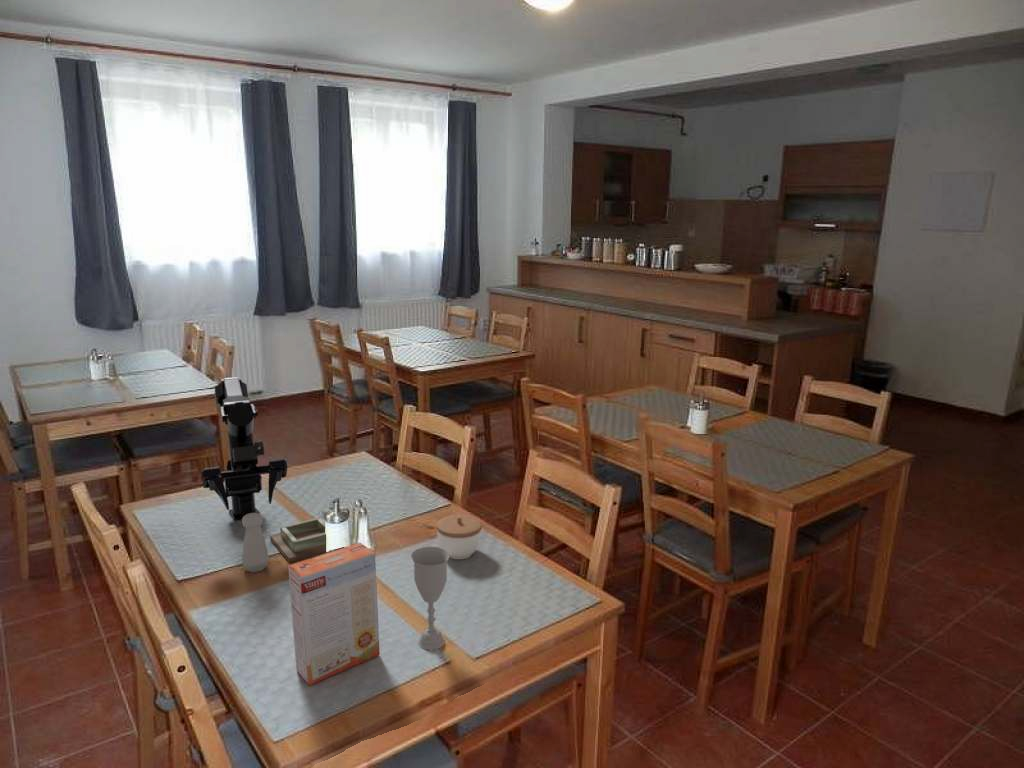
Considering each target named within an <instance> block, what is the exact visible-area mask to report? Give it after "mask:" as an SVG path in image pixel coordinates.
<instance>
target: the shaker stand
mask: <svg viewBox="0 0 1024 768" xmlns="http://www.w3.org/2000/svg"><path fill="white" fill-rule="evenodd" d="M324 522H325V521H324V520H323V519H322V518H321V517H316V518H315V517H314V518H311V519H308V520H303V521H299V522H295V523H291V524H287V525H283V526H280V527H279V528H280V532H279V533H274V534H271V535H269V537H270V538H269V539H270V541H271V543H272V544H273V545H274V546H275V547H276V548H277V550H278V551H279V552H280V553H281V554H282V555H283V557H284V559H286V561H287V562H288V563H289V564H290V563H295V562H299V561H301V560H302V561H303V560H306V559H310V558H313V557H317V556H320V555H323V554H326V534H325V523H324Z"/></svg>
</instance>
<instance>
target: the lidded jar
mask: <svg viewBox="0 0 1024 768" xmlns="http://www.w3.org/2000/svg"><path fill="white" fill-rule="evenodd" d="M482 529H483V523H482V520H481V519H480V518H478V517H476V516H473V515H470V514H463V513H462V514H460V513H459V514H457V513H456V514H450V515H446V516H444V517H441V518H440V519H439V520H438V521H437V523H436V530H437V532H436V533H437V540H438V545H439V548H441V549H444V550H446V551H447V552H448V553H449V559H452V560H466V559H468V558H470V557H472V555H473V554H474V553H475V552H476V551H477V549H478V548H479V546H480V544H481V538H482Z"/></svg>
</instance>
